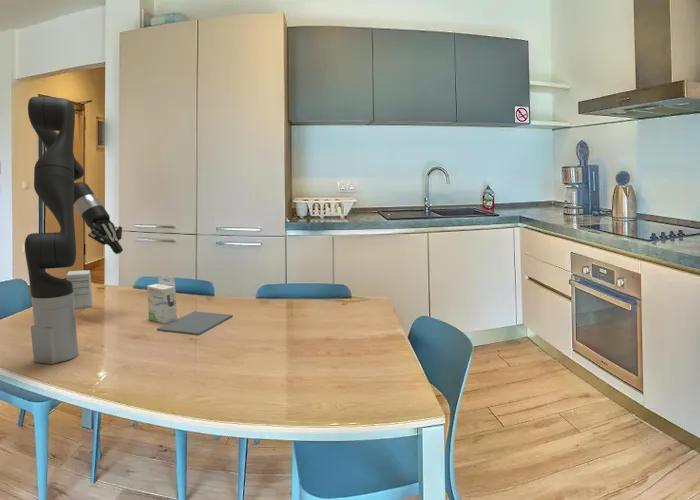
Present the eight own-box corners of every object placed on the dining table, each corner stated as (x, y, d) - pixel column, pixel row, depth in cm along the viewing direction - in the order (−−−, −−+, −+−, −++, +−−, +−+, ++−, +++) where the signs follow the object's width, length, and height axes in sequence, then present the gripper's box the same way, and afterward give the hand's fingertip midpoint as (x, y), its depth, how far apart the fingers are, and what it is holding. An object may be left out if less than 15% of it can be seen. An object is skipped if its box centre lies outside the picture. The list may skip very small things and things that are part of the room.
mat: (199, 335, 142) (199, 333, 142) (157, 330, 146) (156, 328, 146) (232, 316, 161) (232, 314, 161) (194, 312, 165) (194, 311, 165)
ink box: (147, 319, 157) (145, 276, 154) (160, 316, 161) (157, 274, 159) (165, 323, 153) (163, 279, 150) (177, 319, 157) (175, 276, 155)
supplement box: (70, 304, 175) (68, 271, 173) (93, 302, 178) (90, 269, 176) (68, 309, 168) (65, 275, 166) (91, 307, 171) (89, 273, 169)
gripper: (81, 205, 151) (110, 249, 150) (113, 203, 163) (140, 243, 162) (68, 219, 154) (97, 262, 152) (101, 215, 166) (128, 255, 165)
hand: (119, 252), depth 157 cm, fingers closed
